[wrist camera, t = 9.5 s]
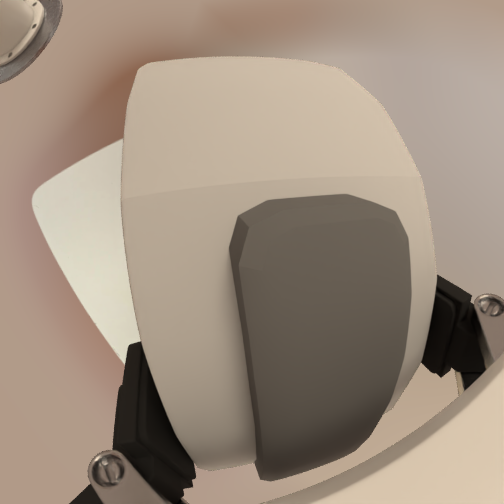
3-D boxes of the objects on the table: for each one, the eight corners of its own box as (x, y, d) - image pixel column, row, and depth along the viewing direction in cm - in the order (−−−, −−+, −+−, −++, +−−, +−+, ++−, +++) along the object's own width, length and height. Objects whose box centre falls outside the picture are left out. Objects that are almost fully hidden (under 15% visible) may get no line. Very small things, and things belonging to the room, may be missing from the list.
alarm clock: (160, 102, 19) (104, -90, 1) (252, 95, 20) (463, -13, 2) (191, 334, 26) (233, 534, 8) (264, 321, 28) (363, 493, 10)
